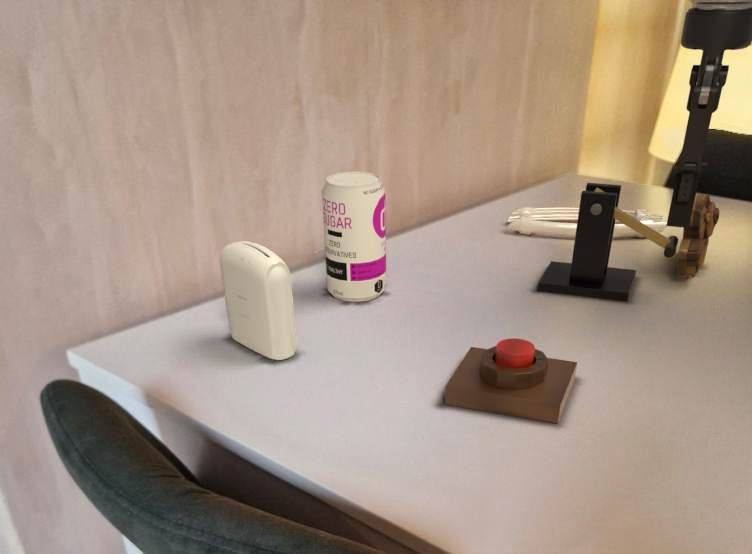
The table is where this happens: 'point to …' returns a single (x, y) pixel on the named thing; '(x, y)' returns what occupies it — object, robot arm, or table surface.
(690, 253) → the wooden carving
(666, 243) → the lever
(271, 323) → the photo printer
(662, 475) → the table surface
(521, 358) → the button
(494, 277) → the table surface
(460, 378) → the button block
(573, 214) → the white piece
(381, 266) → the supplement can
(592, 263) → the bracket
